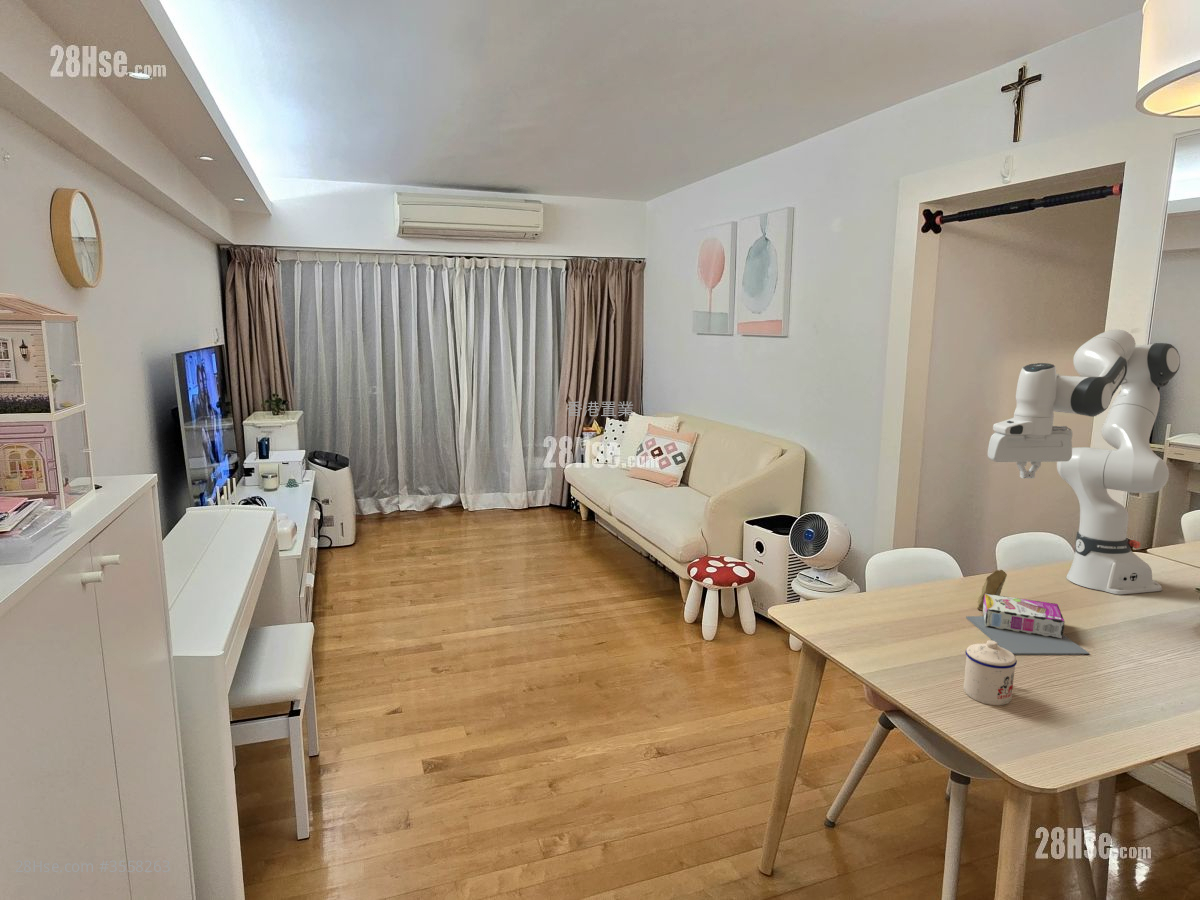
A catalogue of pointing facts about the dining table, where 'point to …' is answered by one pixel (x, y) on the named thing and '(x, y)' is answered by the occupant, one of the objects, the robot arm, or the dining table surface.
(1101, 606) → the dining table surface
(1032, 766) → the dining table surface
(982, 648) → the teacup with lid
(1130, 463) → the robot arm
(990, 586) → the rock
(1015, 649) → the mat
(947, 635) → the dining table surface
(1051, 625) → the candy bar box
